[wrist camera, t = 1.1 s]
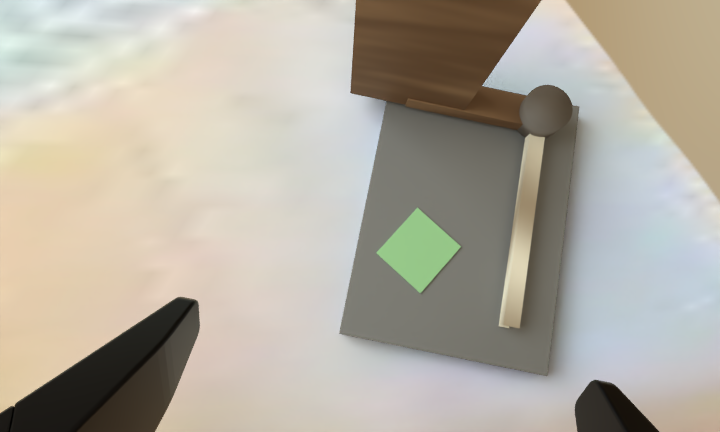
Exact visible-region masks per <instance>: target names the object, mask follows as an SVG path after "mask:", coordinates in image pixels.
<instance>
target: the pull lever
mask: <svg viewBox="0 0 720 432" xmlns="http://www.w3.org/2000/svg"><path fill="white" fill-rule="evenodd" d="M540 1H541V0H356V11H355V28H354V44H353V61H352V77H351V93H352V94H357V95H362V96H367V97H371V98H376V99H381V100H385V101H390V102H395V103H400V104H404V105H405V107H410V108H415V109H420V110H424V111H429V112H434V113H438V114H443V115H448V116H453V117H457V118H462V119H467V120H472V121H476V122H481V123H486V124H490V125H495V126H500V127H505V128H509V129H514V130H517V131H518V132H519V133H520V134H521V135H522V136H523V137H525V142H524V149H523V156H522V163H521V170H520V178H519V185H518V192H517V199H516V206H515V213H514V220H513V227H512V234H511V242H510V249H509V256H508V263H507V270H506V277H505V284H504V291H503V298H502V305H501V313H500V320H499V324H500V325H505V326H510V327H515V328H520V322H521V314H522V307H523V299H524V291H525V284H526V276H527V269H528V261H529V254H530V246H531V239H532V231H533V223H534V216H535V208H536V201H537V193H538V186H539V178H540V170H541V163H542V155H543V148H544V140H545V139H547V138H549V137H550V136H551V135H553V134H554V133H556V132H557V131H558V130H560V129H561V128H562V127H564V126H565V125H566V124H567V123H568V122H569V121H570V119H571V116H572V111H573V108H572V103H571V100H570V98H569V97H568V95H567V94H566V93H565V92H564V91H563V90H561V89H560V88H558V87H555V86H552V85H542V86H539V87H537V88H535V89H533V90H532V91H531V92H530V93H529V94H528V95H527V96H524V95H520V94H515V93H510V92H506V91H501V90H496V89H491V88H487V87H482V85H483V83H484V82H485V80H486V79H487V78H488V76H489V75H490V73H491V72H492V70H493V69H494V68H495V66H496V65H497V63H498V62H499V60H500V59H501V57H502V56H503V55H504V53H505V52H506V50H507V49H508V47H509V46H510V45H511V43H512V42H513V40H514V39H515V37H516V36H517V34H518V33H519V32H520V30H521V29H522V27H523V26H524V24H525V23H526V22H527V20H528V19H529V17H530V16H531V14H532V13H533V11H534V10H535V9H536V7H537V6H538V4H539V3H540Z"/></svg>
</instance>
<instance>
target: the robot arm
mask: <svg viewBox="0 0 720 432" xmlns="http://www.w3.org/2000/svg"><path fill="white" fill-rule="evenodd" d="M199 328H200V321H199V305H198V302H197V300H195V299H190V298H185V297H178V298H176V299H174V300H172V301H171V302H169V303H168V304H166V305H165V306H163V307H162V308H160V309H159V310H157V311H156V312H154V313H153V314H151V315H150V316H148V317H147V318H145V319H143V320H142V321H140V322H139V323H137V324H136V325H134V326H133V327H131V328H130V329H128V330H127V331H125V332H124V333H122V334H121V335H119V336H118V337H116V338H114V339H113V340H111V341H110V342H108V343H107V344H105V345H104V346H102V347H101V348H99V349H98V350H96V351H95V352H93V353H92V354H90V355H89V356H87V357H86V358H84V359H82V360H81V361H79V362H78V363H76V364H75V365H73V366H72V367H70V368H69V369H67V370H66V371H64V372H63V373H61V374H60V375H58V376H57V377H55V378H53V379H52V380H50V381H49V382H47V383H46V384H44V385H43V386H41V387H40V388H38V389H37V390H35V391H34V392H32V393H31V394H29V395H28V396H26V397H24V398H23V399H21V400H20V401H18V402H17V403H16V404H15V407H14V406H11V407H9V408H7V409H6V410H4V411H3V412H1V413H0V432H155V430H156V429H157V427H158V425H159V423H160V421H161V419H162V417H163V416H164V414H165V412H166V410H167V408H168V406H169V404H170V402H171V400H172V398H173V395H174V393H175V391H176V388H177V386H178V383H179V381H180V378H181V376H182V373H183V371H184V368H185V366H186V363H187V361H188V358H189V356H190V353H191V351H192V348H193V346H194V344H195V341H196V339H197V336H198V333H199ZM575 417H576V425H577V432H659V431H658V430H657V429H656V428H655V426H654V425H653V424H652V423H651V422H650V421H649V420H648V419H647V418H646V417H645V416H644V415H643V414H642V413H641V412H640V411H639V410H638V409H637V407H636V406H635V405H634V404H633V403H632V402H631V401H630V400H629V399H628V398H627V397H626V396H625V395H624V394H623V393H622V392H621V391H620V389H619V388H618V387H617V386H615V385H614V384H612V383H609V382H605V381H600V380H593V381H591V382H590V383H589V385H588V386H587V387H586V389H585V390H584V391H583V393H582V394H581V396H580V397H579V398H578V400H577V402H576V404H575Z"/></svg>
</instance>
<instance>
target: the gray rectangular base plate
mask: <svg viewBox="0 0 720 432" xmlns="http://www.w3.org/2000/svg"><path fill="white" fill-rule="evenodd" d="M482 87H484V86H482ZM487 88H489V87H487ZM491 89H493V88H491ZM496 90H498V89H496ZM501 91H503V90H501ZM506 92H508V91H506ZM510 93H512V92H510ZM515 94H517V93H515ZM520 95H522V94H520ZM524 96H526V95H524ZM572 108H573V111H572V116H571V119H570V121H569V122H568V123H567V124H566V125H565V126H564V127H562V128H561V129H560V130H558V131H557V132H556V133H554V134H553V135H551V136H550V137H549V138H547V139H545V140H544V148H543V155H542V163H541V170H540V178H539V186H538V193H537V201H536V208H535V216H534V223H533V231H532V239H531V246H530V254H529V261H528V269H527V276H526V284H525V291H524V299H523V307H522V314H521V322H520V328H515V327H510V326H505V325H500V324H499V320H500V313H501V305H502V298H503V291H504V284H505V277H506V270H507V263H508V256H509V249H510V242H511V234H512V227H513V220H514V213H515V206H516V199H517V192H518V185H519V178H520V170H521V163H522V156H523V149H524V142H525V137H523V136H522V135H521V134H520V133H519V132H518V131H517V130H514V129H509V128H505V127H500V126H495V125H490V124H486V123H481V122H476V121H472V120H467V119H462V118H457V117H453V116H448V115H443V114H438V113H434V112H429V111H424V110H420V109H415V108H410V107H405V105H404V104H400V103H395V102H390V101H387V102H386V107H385V112H384V117H383V122H382V126H381V131H380V136H379V141H378V146H377V151H376V156H375V161H374V166H373V171H372V175H371V180H370V185H369V190H368V195H367V200H366V205H365V210H364V215H363V220H362V224H361V229H360V234H359V239H358V244H357V249H356V254H355V259H354V264H353V269H352V273H351V278H350V283H349V288H348V293H347V298H346V303H345V308H344V313H343V318H342V322H341V327H340V334H344V335H349V336H354V337H359V338H363V339H368V340H373V341H378V342H383V343H388V344H393V345H398V346H403V347H408V348H412V349H417V350H422V351H427V352H432V353H437V354H442V355H447V356H452V357H456V358H461V359H466V360H471V361H476V362H481V363H486V364H491V365H496V366H501V367H505V368H510V369H515V370H520V371H525V372H530V373H535V374H540V375H545V376H547V374H548V366H549V357H550V349H551V341H552V332H553V324H554V315H555V307H556V299H557V290H558V282H559V273H560V265H561V256H562V248H563V240H564V231H565V223H566V214H567V206H568V198H569V189H570V181H571V172H572V164H573V156H574V147H575V139H576V130H577V122H578V114H579V107H578V106H573V105H572Z"/></svg>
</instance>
